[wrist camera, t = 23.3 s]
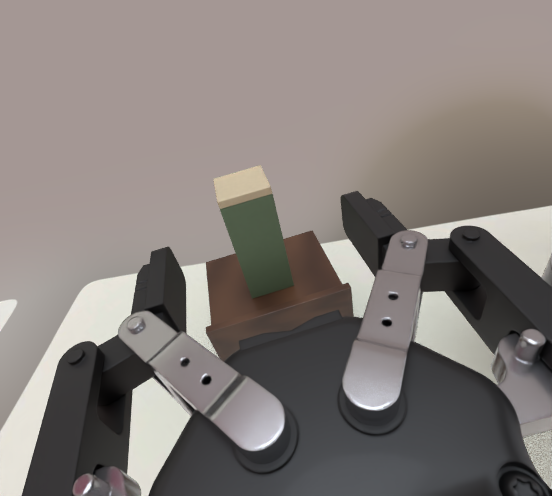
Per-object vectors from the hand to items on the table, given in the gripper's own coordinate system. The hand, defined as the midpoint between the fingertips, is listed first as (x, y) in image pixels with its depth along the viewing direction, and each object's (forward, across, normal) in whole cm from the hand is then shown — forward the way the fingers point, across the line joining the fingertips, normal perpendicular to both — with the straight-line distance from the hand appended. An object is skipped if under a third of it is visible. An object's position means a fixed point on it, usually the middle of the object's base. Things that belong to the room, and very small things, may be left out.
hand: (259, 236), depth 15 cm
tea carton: (+17, 0, +18) cm, 25 cm away
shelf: (+17, 0, +30) cm, 34 cm away
